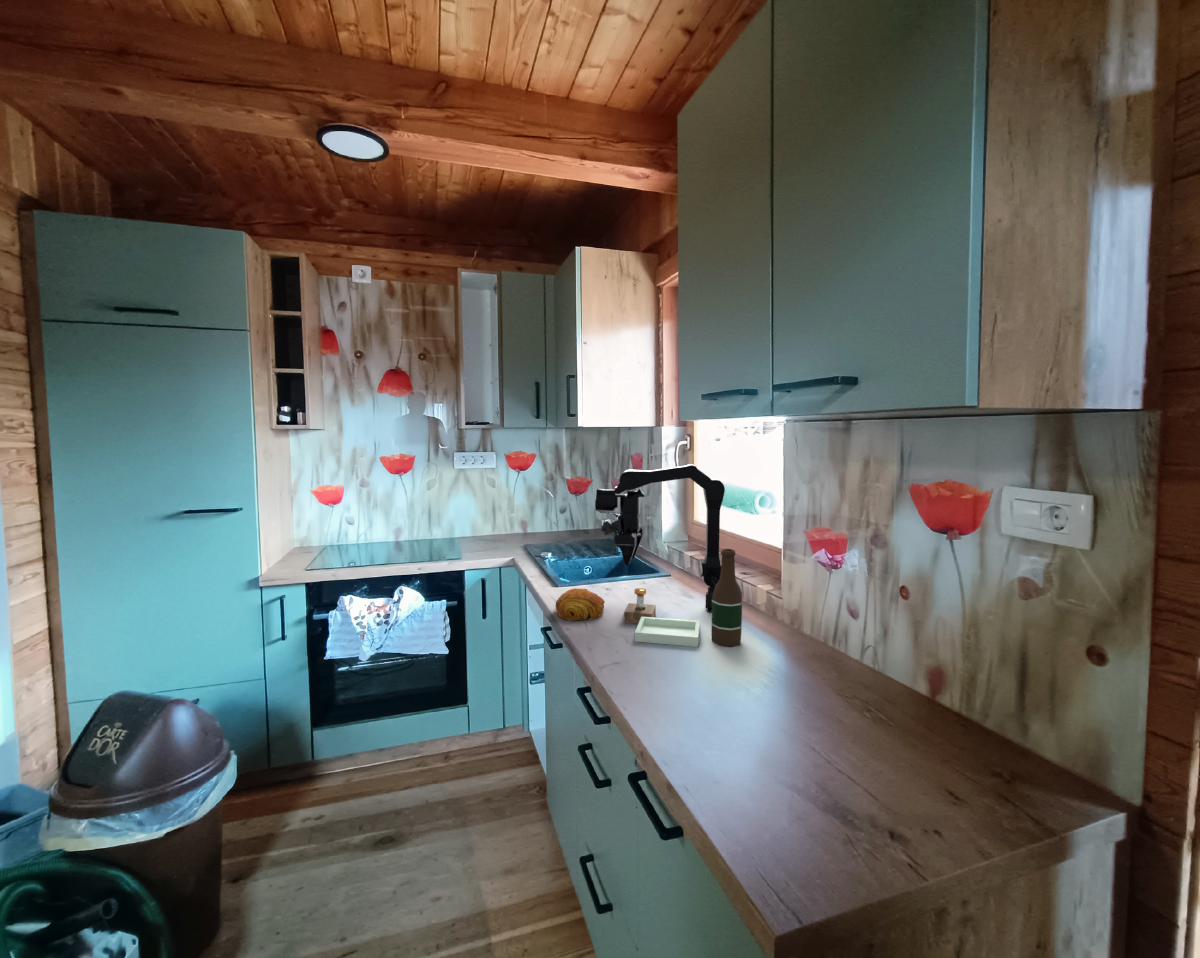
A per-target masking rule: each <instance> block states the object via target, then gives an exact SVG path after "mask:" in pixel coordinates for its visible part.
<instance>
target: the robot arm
mask: <svg viewBox="0 0 1200 958" xmlns="http://www.w3.org/2000/svg"><path fill="white" fill-rule="evenodd" d="M684 479H691V480H692V481H693V482H694V483H695V484H697V485H698V486H699V487H700V488H702V490H703V496H704V501H705V502H704V503H705V505H706V528H705V529H706V530H705V531H706V532H705V533H706V536H705V554H704V559H703V558H699V563H700V567H699V574H700V576H701V578H702V579H703V582H704V584H705V585H706V586H708V587H707V591H706V592H705V608H706V611H707V612H708V613H709V612H710V613H712V596H713V591H714V589H715V586H716V584H717V583H718V582H719V579H720V573H721V559H720V532H721V531H720V529H721V528H720V525H721V523H720V522H721V521H720V520H721V517H720V516H721V507H722V505H723V501H724V496H725V492H726V491H725V490H726V489H725V488H726V487H725V485H724V483H723V482H722V481H721V480H719V479H718V478H716V477H710V476H709V475H707V474H705V473H704V472H703V471H701V470H700V469H699V468H697V466H696V465H694V464H692V463H689V464H687V465H681V466H680V465H679V466H675V467H666V468H657V469H653V470H644V469H625V471H623V472H622V473H621V475H620V476H619V483H618V485H617V486H615V487H614V489H604V488H597V489H596V495H595V500H594V503H595V504H594V507H595V512H615V509H618V508H619V514H618V516H617V519H616V518H615V519H614V520H609V519H608V520H607V521H604V522H602V525H601V526H600V527H601V532H603V534H604V536H608V535H609V534H612V533H614V532H617V534H615V536H614V537H613V544H614V545H615V547H618V548H619V550H620V551H621V556H622V559H623V562H624V563H623V564H624V565H625V566H626V567H627V566H628V567H629V566H630V564H631V561H632V559H635V556H636V555H637V551H638V549H639V547H640V545H641V542H642V539H643V536H644V534H645V527H644V525H642V524H640V518H641V513H640V510H639V509H640V498H644V497H645V496H646V494H645V492H643V491H642V489H641V487H644V486H647V485H650V484H653V483H654V484H655V483H662V482H670V481H675V480H684ZM635 489H637V490H635ZM625 491H627V493H624V492H625Z"/></svg>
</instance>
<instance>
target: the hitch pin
mask: <svg viewBox="0 0 1200 958" xmlns="http://www.w3.org/2000/svg"><path fill="white" fill-rule="evenodd" d="M633 593H634V594H635V595H636V604H637V610H644V604H645V602H644V601H645V595H647V589H646V588H642V587H636V588H634V592H633Z"/></svg>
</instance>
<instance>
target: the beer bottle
mask: <svg viewBox="0 0 1200 958" xmlns="http://www.w3.org/2000/svg"><path fill="white" fill-rule="evenodd" d="M720 555H721V560H720V563H721V573H720V579H719V582H718V583H717V584H716V586H715V589H714V591H713V596H712V612H711V633H710V634H711V642H712V643H713V644H716V645H717V646H721V647H727V648H732V647H737V646H740V644H741V640H742V628H743V626H742V622H743V619H742V618H743V592H742V589H741V587H740V585H739V583H738V582H737V578H736V565H735V563H736V561H735V555H736V550H735V549H731V548H723V549H722V550H721V552H720Z"/></svg>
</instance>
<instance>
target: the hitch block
mask: <svg viewBox="0 0 1200 958" xmlns="http://www.w3.org/2000/svg"><path fill="white" fill-rule="evenodd" d="M656 607H657V606H656V604H645V603H644V610H637V603H630V602H629V603H628V604H627V606H626V608H625V610H624V613H623V622H624V623H627V624H628V623H629V624H638V623H639V621H640V619H641V617H654V618H656V615H657V614H656V612H657V611H656Z"/></svg>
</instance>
